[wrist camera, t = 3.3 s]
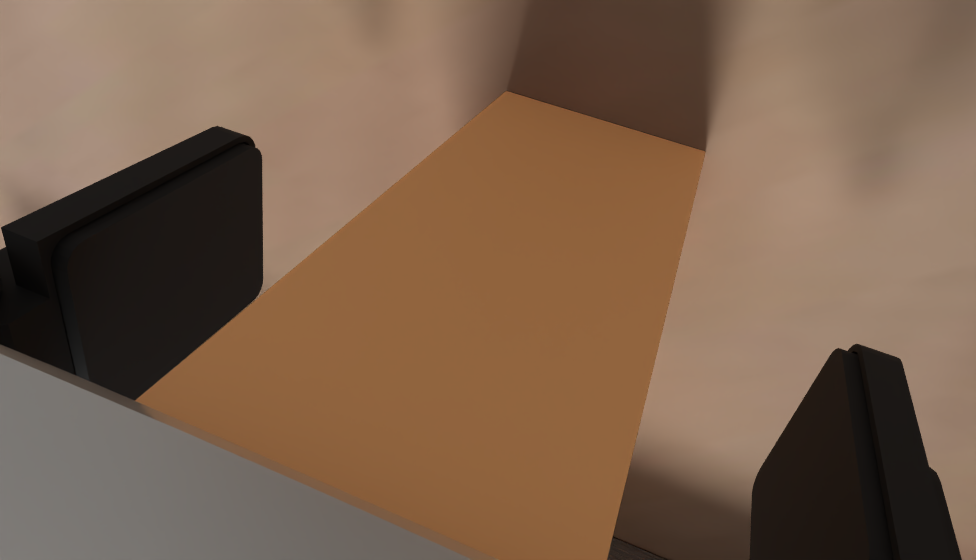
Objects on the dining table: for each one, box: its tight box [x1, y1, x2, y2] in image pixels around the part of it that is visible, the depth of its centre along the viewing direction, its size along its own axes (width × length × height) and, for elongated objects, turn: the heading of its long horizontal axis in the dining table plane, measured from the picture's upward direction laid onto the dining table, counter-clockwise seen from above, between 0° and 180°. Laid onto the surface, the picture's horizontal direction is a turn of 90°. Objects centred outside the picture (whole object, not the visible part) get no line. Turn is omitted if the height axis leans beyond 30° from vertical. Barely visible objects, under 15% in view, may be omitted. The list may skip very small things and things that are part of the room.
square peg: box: [135, 91, 705, 560], centre depth 10 cm, size 4×4×10 cm
